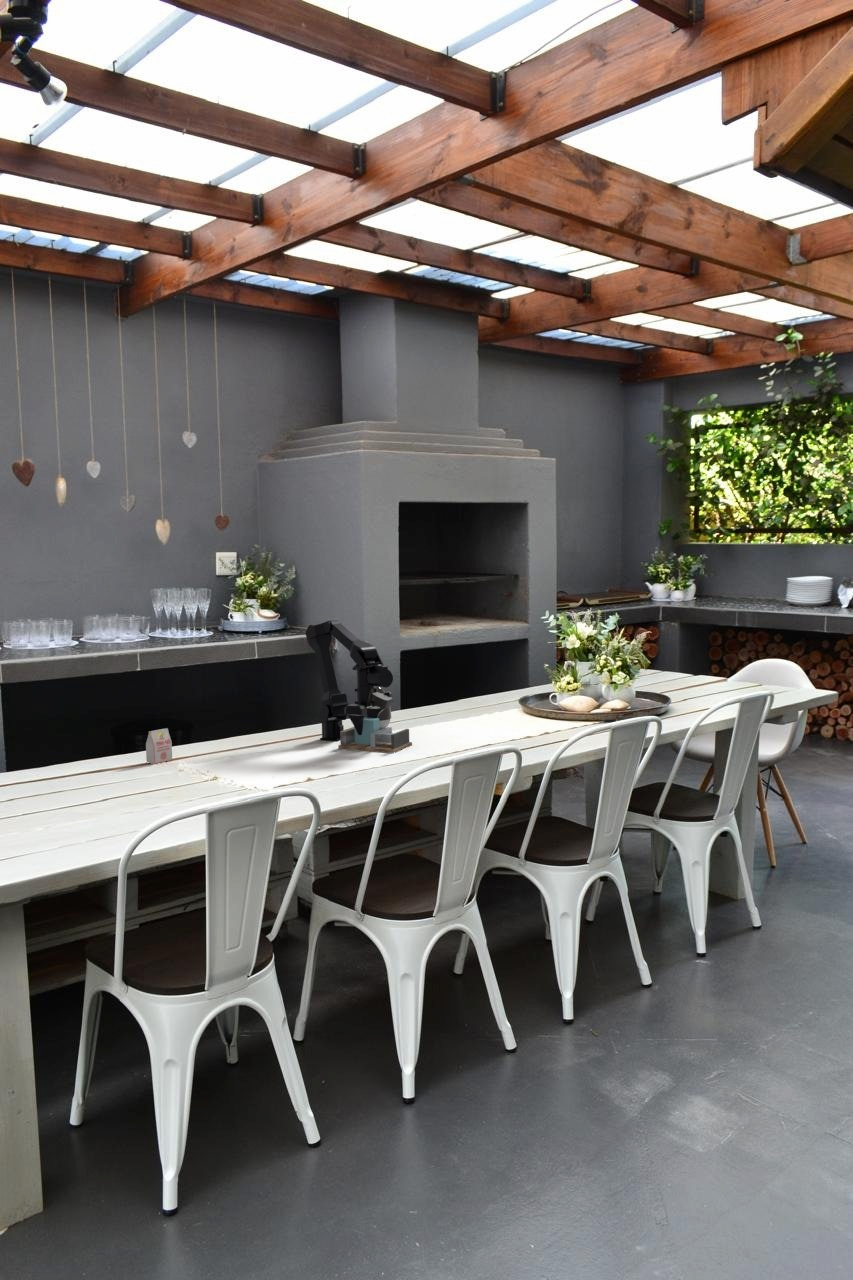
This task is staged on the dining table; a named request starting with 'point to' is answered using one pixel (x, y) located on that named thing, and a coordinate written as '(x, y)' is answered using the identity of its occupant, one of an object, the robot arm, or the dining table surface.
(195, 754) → the dining table surface
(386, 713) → the pump dispenser
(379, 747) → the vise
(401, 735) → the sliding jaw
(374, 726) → the workpiece block
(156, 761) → the white cardboard carton
